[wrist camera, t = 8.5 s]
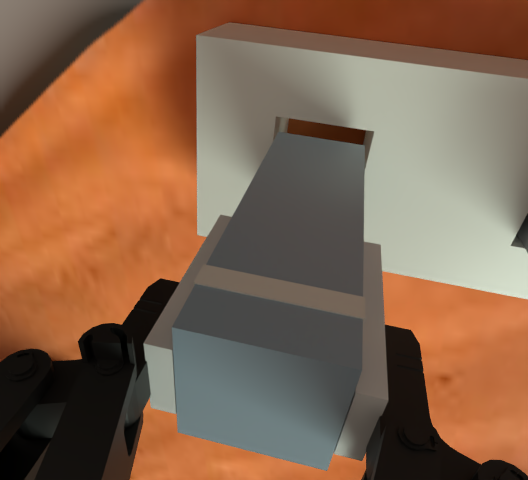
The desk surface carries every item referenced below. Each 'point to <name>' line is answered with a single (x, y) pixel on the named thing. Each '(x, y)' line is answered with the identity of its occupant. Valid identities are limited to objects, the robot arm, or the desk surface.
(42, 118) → the desk surface
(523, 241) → the charcoal plug
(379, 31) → the desk surface
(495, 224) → the block
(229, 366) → the slate plug
